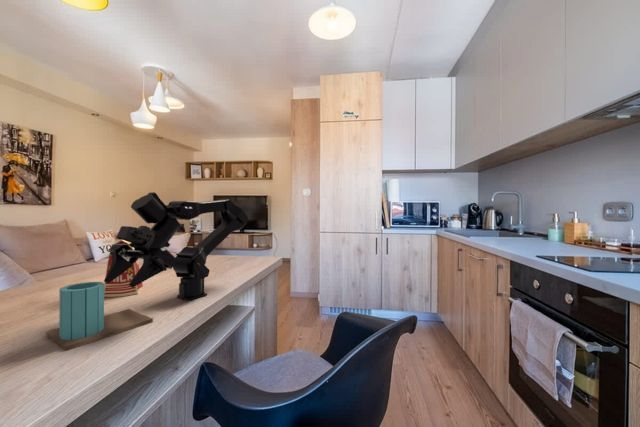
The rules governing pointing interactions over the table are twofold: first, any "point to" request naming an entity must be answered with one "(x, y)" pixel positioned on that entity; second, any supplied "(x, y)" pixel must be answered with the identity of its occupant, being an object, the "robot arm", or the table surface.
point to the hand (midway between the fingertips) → (117, 284)
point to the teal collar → (81, 310)
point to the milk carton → (122, 278)
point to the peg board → (105, 328)
